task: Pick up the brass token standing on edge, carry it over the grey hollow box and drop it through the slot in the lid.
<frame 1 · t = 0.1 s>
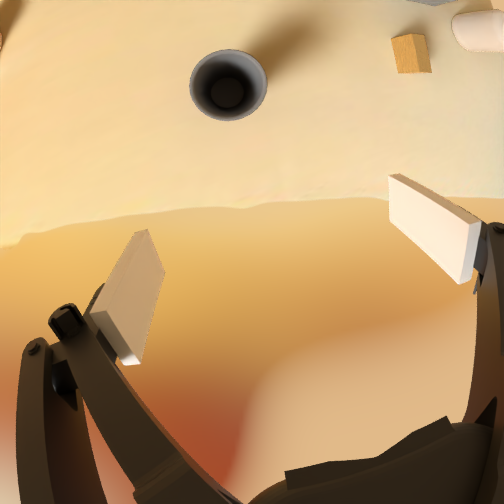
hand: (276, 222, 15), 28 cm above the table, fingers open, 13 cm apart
pill bottle: (464, 33, 30), on the table
cup: (227, 92, 36), on the table
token: (400, 56, 33), on the table
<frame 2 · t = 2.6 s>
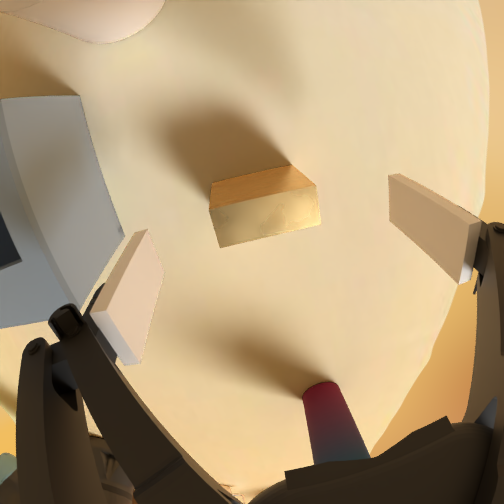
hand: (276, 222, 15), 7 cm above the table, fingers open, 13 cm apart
mug: (219, 487, 54), on the table
pill bottle: (119, 1, 13), on the table
cup: (320, 392, 35), on the table
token: (255, 188, 21), on the table
grey hollow box: (43, 191, 19), on the table
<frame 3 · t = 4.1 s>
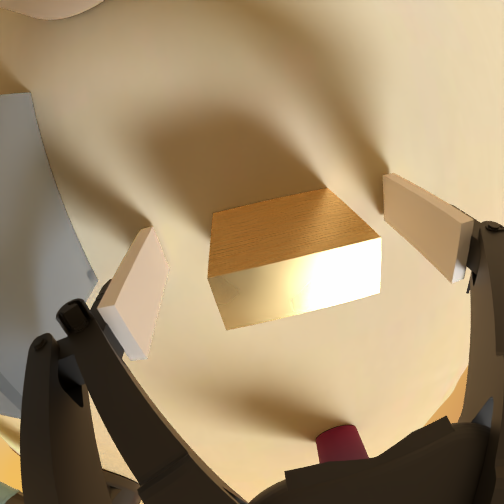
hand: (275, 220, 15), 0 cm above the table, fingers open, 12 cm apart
cup: (335, 433, 29), on the table
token: (275, 220, 15), on the table
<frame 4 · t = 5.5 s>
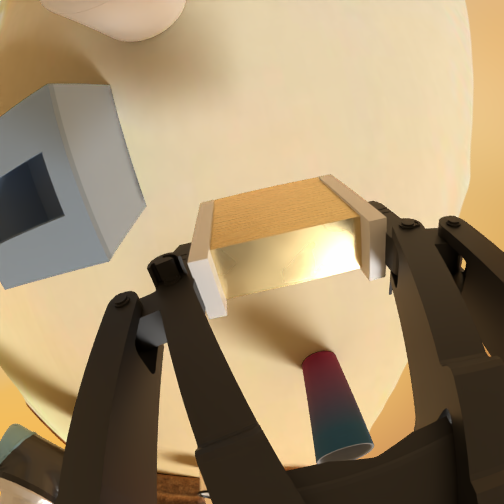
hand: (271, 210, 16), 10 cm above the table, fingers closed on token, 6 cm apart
mug: (221, 465, 59), on the table
pill bottle: (144, 5, 17), on the table
cup: (319, 361, 39), on the table
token: (270, 207, 17), point 9 cm above the table, touching gripper
grey hollow box: (74, 167, 23), on the table
bread: (155, 476, 66), on the table
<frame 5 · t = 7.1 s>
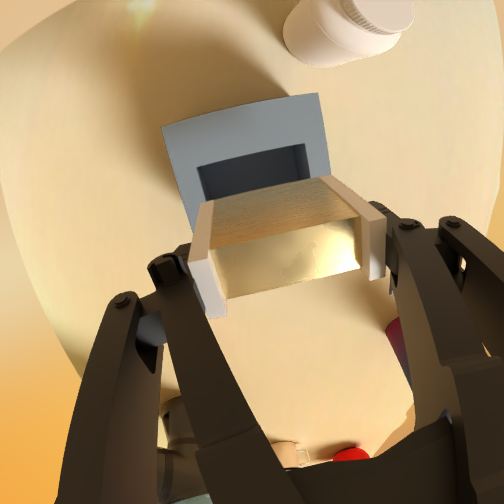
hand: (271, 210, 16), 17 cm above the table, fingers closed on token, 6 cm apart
mug: (284, 445, 66), on the table
pill bottle: (316, 37, 25), on the table
cup: (397, 326, 46), on the table
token: (270, 207, 17), point 16 cm above the table, touching gripper
grey hollow box: (247, 158, 31), on the table
tomato: (345, 451, 75), on the table
when the fingers open (11 cm above the table, at t = 8.8 s): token drops 10 cm, resting on grey hollow box.
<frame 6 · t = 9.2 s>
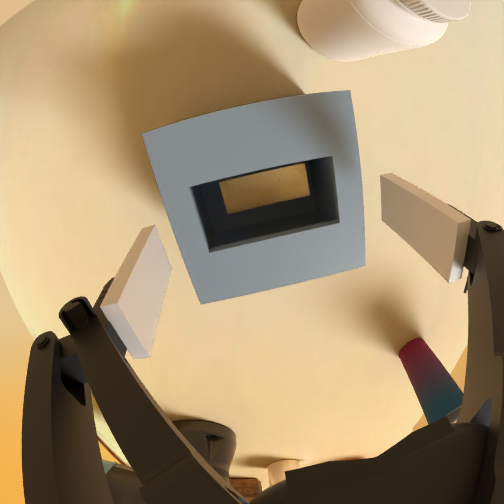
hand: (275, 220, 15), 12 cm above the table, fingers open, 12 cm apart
mug: (287, 463, 61), on the table
pill bottle: (336, 25, 20), on the table
cup: (411, 348, 41), on the table
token: (256, 170, 25), point 1 cm above the table, touching grey hollow box
grey hollow box: (253, 169, 26), on the table
bread: (208, 482, 67), on the table
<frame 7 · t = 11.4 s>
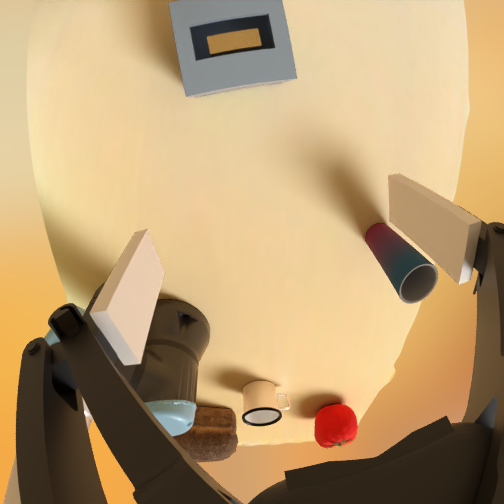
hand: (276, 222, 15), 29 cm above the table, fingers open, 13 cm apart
mug: (264, 388, 69), on the table
cup: (377, 235, 49), on the table
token: (233, 48, 32), point 1 cm above the table, touching grey hollow box
grey hollow box: (232, 50, 33), on the table
bread: (182, 413, 75), on the table
tomato: (329, 409, 79), on the table
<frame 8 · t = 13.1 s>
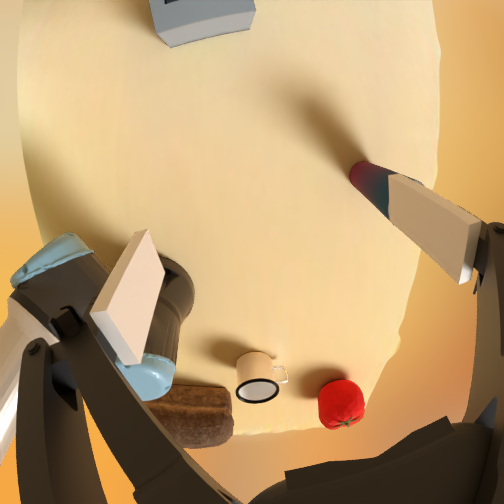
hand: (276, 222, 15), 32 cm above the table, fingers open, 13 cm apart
mug: (259, 361, 66), on the table
cup: (362, 175, 47), on the table
grey hollow box: (201, 5, 31), on the table
bread: (174, 396, 71), on the table
tomato: (333, 387, 75), on the table
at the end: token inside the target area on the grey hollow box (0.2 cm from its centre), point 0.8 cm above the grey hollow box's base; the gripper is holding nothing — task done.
